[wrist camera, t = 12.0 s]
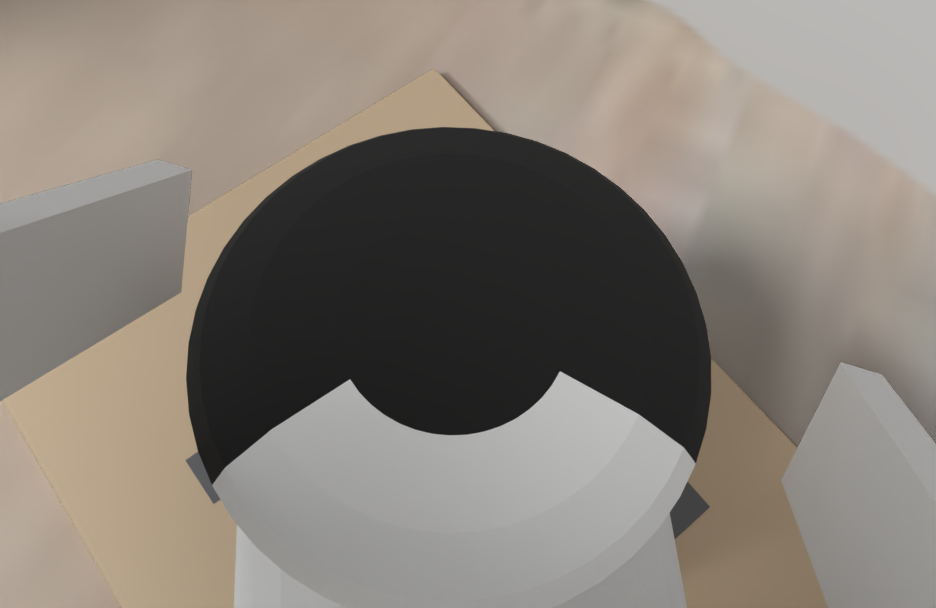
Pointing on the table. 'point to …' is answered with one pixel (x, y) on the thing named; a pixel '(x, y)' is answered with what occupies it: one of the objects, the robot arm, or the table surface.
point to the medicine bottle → (450, 383)
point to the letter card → (204, 515)
